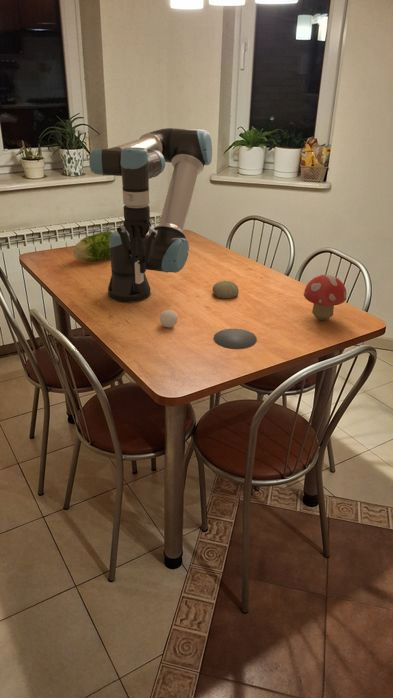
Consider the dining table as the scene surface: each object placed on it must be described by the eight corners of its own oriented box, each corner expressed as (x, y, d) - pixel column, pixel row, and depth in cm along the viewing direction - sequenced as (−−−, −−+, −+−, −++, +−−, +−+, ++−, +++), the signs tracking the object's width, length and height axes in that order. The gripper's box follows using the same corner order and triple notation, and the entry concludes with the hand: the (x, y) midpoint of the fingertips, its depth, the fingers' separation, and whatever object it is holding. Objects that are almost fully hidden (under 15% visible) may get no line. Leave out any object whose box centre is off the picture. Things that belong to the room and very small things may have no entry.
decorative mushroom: (350, 326, 168) (357, 282, 161) (310, 329, 166) (315, 285, 158) (332, 309, 180) (338, 267, 172) (295, 312, 177) (299, 270, 170)
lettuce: (68, 262, 221) (65, 235, 216) (111, 252, 232) (109, 227, 227) (82, 269, 213) (79, 242, 208) (125, 259, 225) (124, 233, 219)
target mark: (207, 344, 157) (207, 343, 157) (221, 326, 167) (221, 325, 167) (249, 352, 152) (249, 351, 152) (261, 333, 163) (261, 332, 163)
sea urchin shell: (239, 296, 185) (223, 279, 183) (223, 309, 189) (207, 293, 187) (242, 286, 193) (227, 270, 191) (226, 299, 196) (212, 284, 195)
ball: (157, 328, 166) (156, 312, 163) (164, 321, 170) (164, 306, 167) (173, 331, 164) (173, 315, 161) (180, 324, 168) (180, 308, 166)
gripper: (110, 205, 151) (115, 283, 162) (151, 210, 147) (153, 289, 158) (122, 200, 157) (126, 275, 168) (162, 204, 153) (163, 281, 164)
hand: (139, 282), depth 163 cm, fingers closed
